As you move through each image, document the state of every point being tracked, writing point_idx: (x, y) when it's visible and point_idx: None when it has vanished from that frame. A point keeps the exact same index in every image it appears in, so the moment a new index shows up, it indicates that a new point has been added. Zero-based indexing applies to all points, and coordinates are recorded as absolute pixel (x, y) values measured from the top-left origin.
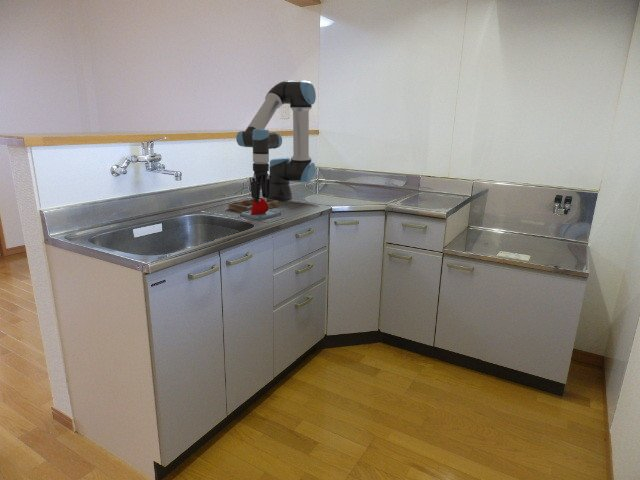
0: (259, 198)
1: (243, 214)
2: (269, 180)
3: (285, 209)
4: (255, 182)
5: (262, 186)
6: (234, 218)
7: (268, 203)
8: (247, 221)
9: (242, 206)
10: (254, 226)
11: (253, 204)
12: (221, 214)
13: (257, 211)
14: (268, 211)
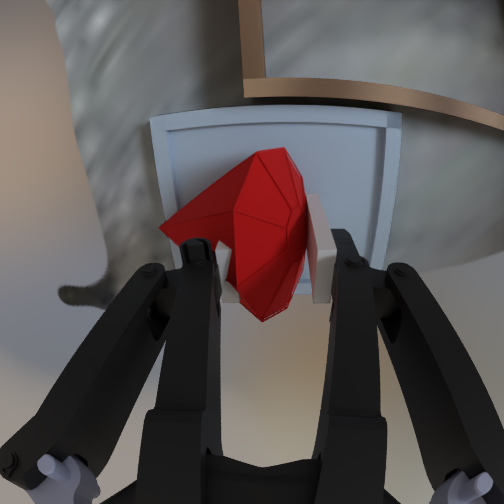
0: (237, 290)
1: (156, 149)
2: (431, 476)
3: (492, 217)
4: (96, 463)
5: (327, 390)
6: (97, 151)
7: (486, 124)
8: (120, 249)
9: (240, 27)
10: None
11: (194, 225)
12: (101, 19)
13: None
14: (360, 210)
